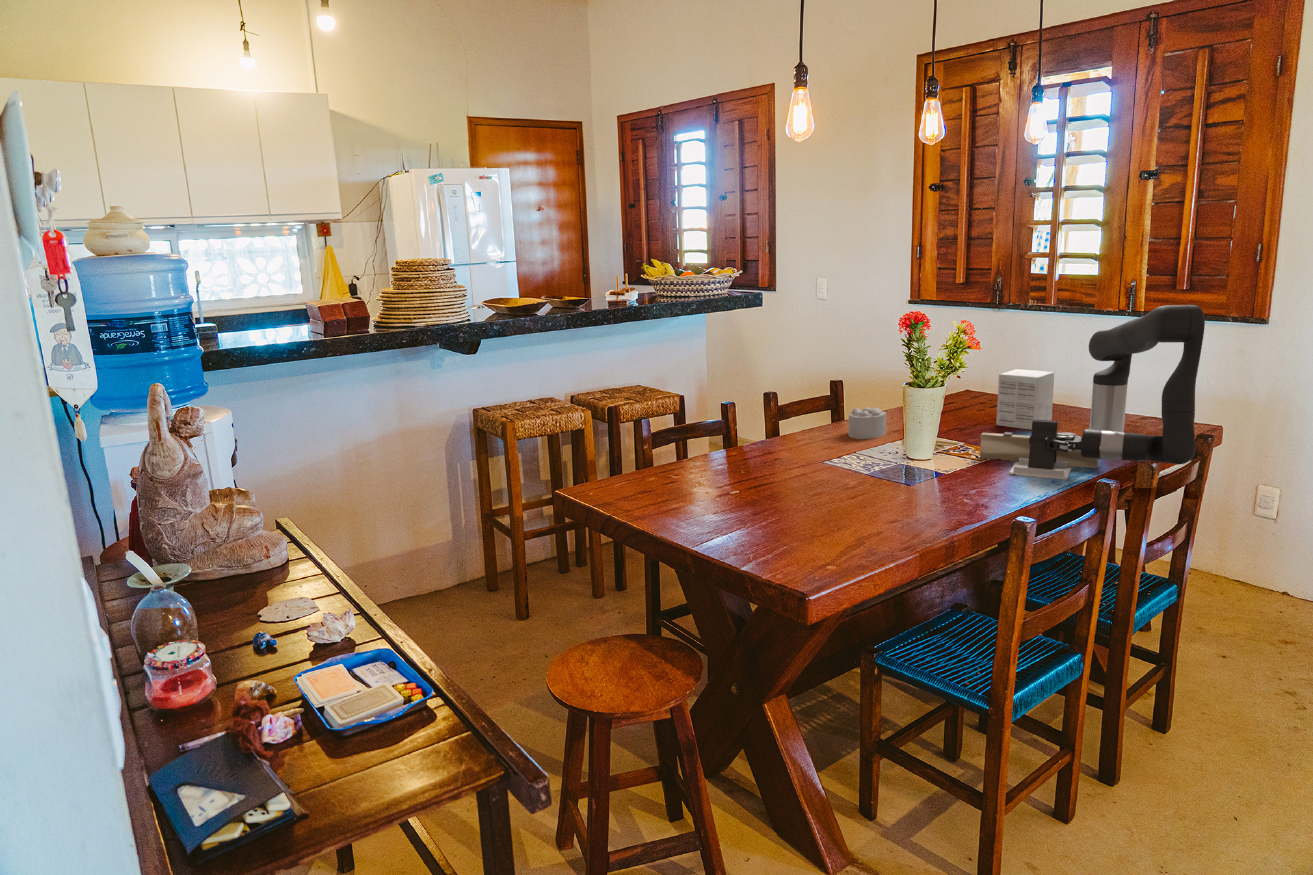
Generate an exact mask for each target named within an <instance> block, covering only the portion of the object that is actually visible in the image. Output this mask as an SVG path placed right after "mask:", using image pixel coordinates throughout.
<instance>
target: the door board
mask: <svg viewBox="0 0 1313 875" xmlns="http://www.w3.org/2000/svg"><path fill="white" fill-rule="evenodd" d="M1030 436H1031V435H1021V434H1020V435H1019V434H1013V432H1008V431H1004V433H992V432H982V433H981V434H980V447H979V448H980V450H979V451H980V452H979V459H984V460H985V459H987V460H996V459H1001V460H1000V461H1008V460H1009V462H1019V458H1029V453H1030V444H1029V438H1030ZM1056 461H1067V467H1075V468H1076V467H1077V468H1080V467H1081V468H1087V469H1089V468H1091V469H1098V465H1099V459H1094V458H1083V457H1082V456H1081V450H1073V451H1068V452H1061V451H1057V455H1056Z"/></svg>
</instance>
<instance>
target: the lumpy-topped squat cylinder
mask: <svg viewBox="0 0 1313 875" xmlns="http://www.w3.org/2000/svg"><path fill="white" fill-rule="evenodd" d="M886 432H887V412H885V411H882V410H881V409H880V408H876V407H868V406H866V407H864V408H863V409H860V408H859V407H855V408H853V409H852V411H851V412H850V413H849V414H848V437H849V438H850V437H852V438H851V439H854V438H855V439H856V440H867V439H869V440H870V439H877V438H881V437H883V436H885V435H886V434H887V433H886Z"/></svg>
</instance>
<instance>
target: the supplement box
mask: <svg viewBox="0 0 1313 875" xmlns="http://www.w3.org/2000/svg"><path fill="white" fill-rule="evenodd" d="M997 384H998V387H997V406H996V407H997V409H996V424H995V425H996V426H1002V427H1008V428H1014V429H1015V428H1017V429H1023V430H1031V431H1032V421H1033V420H1047V421H1053V420H1052V419H1053V418H1052V416H1053V400H1054V387H1055V372H1054V371H1045V370H1034V369H1032V370H1031V369H1017V368H1015V369H1012V370H1009V371H1006V372H1003V373H999V374H998V383H997Z"/></svg>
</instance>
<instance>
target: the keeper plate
mask: <svg viewBox="0 0 1313 875" xmlns="http://www.w3.org/2000/svg"><path fill="white" fill-rule="evenodd" d="M1028 463H1029V458H1019V461H1014V463H1013V466H1012V467H1011V469H1010V470H1009V472H1008V474H1009V475H1012V474H1016V475H1015V476H1023V477H1024V476H1025V477H1033V476H1037V477H1036V478H1044V479H1045V478H1047V479H1054V480H1055V479H1056V480H1066V481H1067V480H1068V478H1069V475H1070V474H1071V471H1072V466H1067V461H1056V463H1055V465H1054V468H1053V469H1044V468H1033V467H1028ZM1017 474H1018V475H1017Z"/></svg>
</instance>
